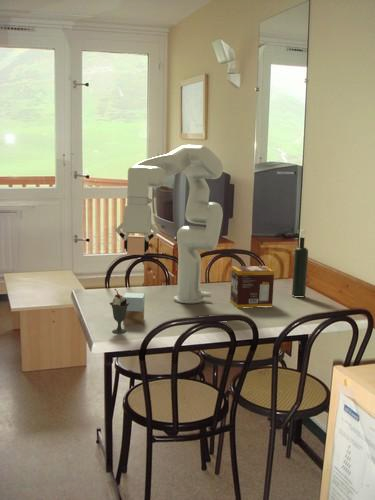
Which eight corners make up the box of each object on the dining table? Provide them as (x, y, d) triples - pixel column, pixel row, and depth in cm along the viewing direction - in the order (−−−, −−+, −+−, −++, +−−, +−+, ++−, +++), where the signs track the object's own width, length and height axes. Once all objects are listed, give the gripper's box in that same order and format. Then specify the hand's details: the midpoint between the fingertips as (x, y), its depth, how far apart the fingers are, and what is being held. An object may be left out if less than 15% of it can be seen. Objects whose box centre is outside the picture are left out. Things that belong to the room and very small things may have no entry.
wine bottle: (307, 297, 266) (312, 230, 261) (298, 298, 262) (302, 230, 257) (298, 294, 270) (302, 228, 265) (289, 295, 267) (293, 229, 262)
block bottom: (143, 319, 223) (144, 306, 222) (142, 324, 216) (142, 311, 215) (125, 318, 223) (125, 305, 222) (123, 324, 216) (123, 310, 215)
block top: (144, 306, 222) (144, 293, 221) (142, 311, 215) (142, 297, 214) (125, 305, 222) (125, 292, 221) (123, 310, 215) (123, 297, 215)
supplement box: (229, 302, 253) (231, 265, 250) (264, 301, 256) (266, 265, 254) (236, 308, 243) (238, 270, 240) (272, 307, 246) (274, 270, 244)
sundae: (109, 328, 210) (110, 287, 207) (129, 328, 210) (129, 287, 208) (108, 334, 203) (109, 291, 201) (128, 334, 204) (129, 291, 201)
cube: (145, 252, 219) (145, 236, 218) (143, 255, 213) (144, 238, 212) (128, 251, 219) (129, 235, 218) (127, 254, 213) (127, 237, 212)
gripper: (162, 201, 217) (160, 250, 220) (114, 199, 217) (113, 249, 220) (161, 203, 209) (159, 254, 212) (112, 201, 209) (111, 252, 212)
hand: (136, 251), depth 216 cm, fingers closed on cube, 6 cm apart
